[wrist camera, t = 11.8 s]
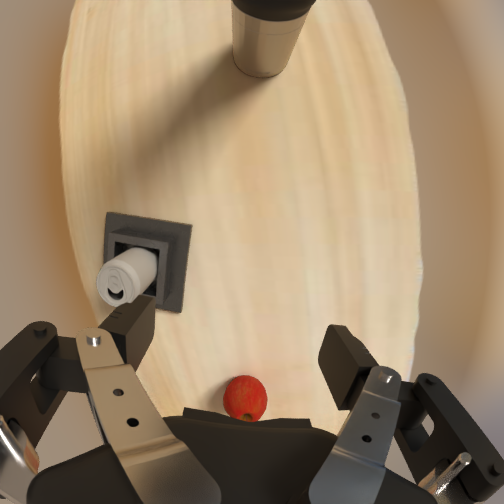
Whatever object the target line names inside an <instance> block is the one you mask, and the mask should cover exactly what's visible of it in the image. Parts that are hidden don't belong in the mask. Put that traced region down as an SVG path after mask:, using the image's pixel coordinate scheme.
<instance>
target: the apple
mask: <svg viewBox="0 0 504 504" xmlns="http://www.w3.org/2000/svg"><path fill="white" fill-rule="evenodd" d="M223 405H224V408H225V410H226V412H227V413H228V414H229V416H230V417H232V418H236V419H239V420H243V421H247V422H255V421H258V420H259V419H260V418H261V416H262V415H263V413H264V412H265V410H266V406H267V394H266V390H265V388H264V386H263V385H262V383H261V382H260V381H259V380H258V379H256V378H254V377H251V376H245V375H243V376H238V377H237V378H235V379H234V380H232V381H231V383H230V384H229V385H228V387H227V388H226V391H225V394H224V397H223Z"/></svg>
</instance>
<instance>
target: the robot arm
mask: <svg viewBox="0 0 504 504" xmlns="http://www.w3.org/2000/svg"><path fill="white" fill-rule="evenodd" d="M315 1H316V0H231V9H232V33H233V58H234V62H235V64H236V65H237V67H238V68H239V69H240V70H241V71H243V72H244V73H246V74H248V75H250V76H254V77H260V78H264V77H271V76H274V75H276V74H279V73H280V72H281V71H283V69H284V68H285V67H286V65H287V63H288V60H289V58H290V56H291V53H292V51H293V49H294V46H295V44H296V41H297V39H298V36H299V34H300V32H301V29H302V27H303V25H304V22H305V20H306V17H307V15H308V13H309V10H310V8H311V6H312V5H313V4H314V3H315ZM155 306H156V300H155V298H154V297H149V296H144V295H138V296H137V297H136V298H135V299H134V301H133V302H132V303H128V302H126V303H124V304H121V305H119V306H118V307H117V308H116V309H115V310H114V311H113V312H112V313H111V314H110V315H109V316H108V317H107V318H106V319H105V320H104V321H103V322H102V324H101V325H100V326H99V327H98V328H86V329H83V330H81V331H79V332H78V333H77V335H76V338H69V337H61V336H58V334H57V329H56V327H55V326H54V325H53V324H52V323H49V322H44V321H38V322H33V323H31V324H29V325H28V326H26V327H25V328H24V329H23V330H22V331H21V332H20V333H18V334H17V335H16V336H15V337H14V338H13V339H12V340H11V341H10V342H9V343H7V344H6V345H5V346H4V347H3V348H2V349H1V350H0V498H1V499H6V498H7V499H8V500H10V501H11V502H13V503H14V504H482V503H484V502H485V501H486V500H487V499H488V498H489V497H491V496H492V495H493V494H494V493H495V492H496V491H497V490H499V489H500V488H501V487H502V486H503V485H504V460H503V459H502V457H501V456H500V454H499V453H498V451H497V450H496V449H495V447H494V446H493V445H492V443H491V442H490V441H489V439H488V438H487V437H486V435H485V434H484V433H483V431H482V430H481V429H480V427H479V426H478V425H477V424H476V422H475V421H474V420H473V419H472V417H471V416H470V415H469V413H468V412H467V411H466V410H465V408H464V407H463V406H462V405H461V404H460V403H459V401H458V400H457V399H456V397H455V396H454V395H453V394H452V393H451V391H450V390H449V389H448V388H447V387H446V385H445V384H444V383H443V382H442V381H441V380H440V379H439V378H438V377H436V376H434V375H431V374H427V373H422V374H420V375H419V376H418V377H417V379H416V381H415V382H414V383H411V382H405V381H401V380H402V379H401V376H400V374H399V373H398V372H396V371H395V370H393V369H392V368H389V367H386V366H379V364H378V363H377V362H376V360H375V359H374V358H373V356H372V355H371V354H369V351H368V350H367V349H366V347H365V346H364V344H363V343H362V342H361V341H360V340H358V339H357V338H356V337H354V336H353V335H352V334H351V333H350V331H349V330H348V329H347V327H346V326H343V325H329V326H328V328H327V330H326V334H325V337H324V340H323V343H322V346H321V348H320V351H319V356H318V363H319V366H320V369H321V371H322V373H323V375H324V378H325V380H326V382H327V385H328V387H329V389H330V392H331V394H332V396H333V399H334V401H335V403H336V406H337V408H338V410H350V413H349V415H348V416H347V418H346V420H345V422H344V424H343V426H342V427H341V429H340V431H339V433H338V435H337V436H336V435H334V434H332V433H330V432H328V431H325V430H322V429H318V428H314V427H312V425H311V422H310V419H292V418H278V419H271V420H264V421H255V422H247V421H243V420H239V419H236V418H232V417H229V416H226V415H223V414H219V413H216V412H210V411H203V410H197V409H191V408H186V407H184V411H183V415H182V416H169V417H163V418H162V417H161V415H160V414H159V412H158V411H157V409H156V408H155V406H154V404H153V403H152V401H151V399H150V398H149V396H148V394H147V393H146V391H145V389H144V387H143V386H142V384H141V382H140V380H139V378H138V377H137V375H136V373H135V372H136V370H137V369H138V367H139V365H140V363H141V361H142V359H143V357H144V355H145V353H146V351H147V349H148V347H149V346H150V344H151V342H152V339H153V336H154V329H155ZM35 373H36V376H35V378H34V379H33V380H32V381H31V379H32V377H33V375H34V374H35ZM30 382H31V383H30ZM68 391H70V392H79V393H86V395H87V398H88V402H89V404H90V408H91V411H92V413H93V416H94V419H95V422H96V425H97V428H98V430H99V433H100V436H101V439H102V441H103V444H104V445H102V446H99V447H97V448H95V449H93V450H90V451H88V452H86V453H84V454H81V455H79V456H76V457H74V458H72V459H69V460H67V461H64V462H62V463H59V464H56V465H54V466H51V467H48V468H46V469H44V470H42V471H41V472H39V473H38V467H39V456H38V454H37V452H36V451H35V448H36V446H37V444H38V442H39V440H40V439H41V437H42V435H43V433H44V431H45V429H46V428H47V426H48V424H49V422H50V420H51V419H52V417H53V415H54V414H55V412H56V410H57V408H58V407H59V405H60V403H61V402H62V400H63V398H64V397H65V395H66V393H67V392H68ZM427 414H429V416H430V417H431V419H432V420H433V422H434V430H433V432H432V434H431V435H430V437H429V435H428V434H427V432H426V430H425V429H424V427H423V425H422V424H421V423H422V422H423V420H424V419H425V417H426V416H427ZM393 436H394V438H395V440H396V442H397V444H398V446H399V448H400V450H401V452H402V454H403V456H404V458H405V460H406V462H407V464H408V467H409V469H410V471H411V473H412V475H413V478H414V480H415V482H416V484H417V485H416V484H414V483H412V482H410V481H408V480H406V479H405V478H403V477H401V476H399V475H398V474H396V473H394V472H392V471H391V470H389V469H387V468H386V467H385V461H386V458H387V455H388V452H389V449H390V445H391V442H392V439H393Z"/></svg>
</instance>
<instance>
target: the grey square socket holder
mask: <svg viewBox="0 0 504 504" xmlns="http://www.w3.org/2000/svg"><path fill="white" fill-rule="evenodd" d="M191 232H192V225H191V224H185V223H179V222H172V221H166V220H160V219H153V218H147V217H140V216H134V215H127V214H121V213H114V212H107V215H106V227H105V241H104V264H105V263H106V262H108V261H110V260H111V259H113V258H115V257H116V256H118V255H120V254H122V253H123V252H125V251H127V250H129V249H130V248H132V247H134V246H137V245H138V246H143V247H149V248H152V249H153V250H154V251H155V252H156V253H157V255H158V256H159V265H158V276H157V278H156V279H155V280H154V281H153V282H152V283H151V284H150V285H149V286H148V288H147V289H146V290H145V291H144V292H143V293H142V294H141V295H144V296H149V297H154V298H155V300H156V306H155V308H160V309H165V310H170V311H175V312H180V313H181V312H182V307H183V297H184V288H185V279H186V270H187V262H188V254H189V246H190V239H191Z"/></svg>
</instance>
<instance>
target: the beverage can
mask: <svg viewBox="0 0 504 504" xmlns="http://www.w3.org/2000/svg"><path fill="white" fill-rule="evenodd" d="M158 265H159V256H158V255H157V253H156V252H155V251H154V250H153V249H152V248H149V247H143V246H138V245H137V246H134V247H132V248H130V249H129V250H127V251H125V252H123V253H122V254H120V255H118V256H116V257H115V258H113V259H111V260H110V261H108V262H106V263H105V264H104V265H103V266H102V267H101V269H100V271H99V273H98V276H97V280H96V285H97V289H98V292H99V294H100V296H101V297H102V299H103V300H104V301H105V302H106V303H108V304H109V305H111V306H114V307H118V306H119V305H121V304H124V303H126V302H128V303H132V302H133V301H134V299H135V298H136V297H137V296H138V295H141V294H142V293H143V292H144V291H145V290H146V289H147V288H148V286H149V285H150V284H151V283H152V282H153V281H154V280H155V279H156V278H157V276H158Z"/></svg>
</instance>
